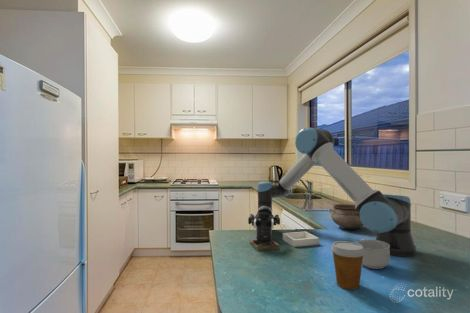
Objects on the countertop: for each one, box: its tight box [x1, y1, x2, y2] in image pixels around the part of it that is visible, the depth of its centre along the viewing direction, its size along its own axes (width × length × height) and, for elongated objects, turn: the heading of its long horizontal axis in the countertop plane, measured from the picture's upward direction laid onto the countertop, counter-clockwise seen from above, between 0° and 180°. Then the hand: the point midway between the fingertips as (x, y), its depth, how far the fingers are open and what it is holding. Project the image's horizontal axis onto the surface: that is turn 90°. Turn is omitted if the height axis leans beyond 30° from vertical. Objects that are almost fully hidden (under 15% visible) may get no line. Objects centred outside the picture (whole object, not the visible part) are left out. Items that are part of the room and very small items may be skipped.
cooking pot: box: [327, 202, 365, 231], centre depth 152 cm, size 25×19×12 cm
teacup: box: [355, 238, 391, 270], centre depth 101 cm, size 14×11×8 cm
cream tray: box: [282, 230, 320, 248], centre depth 128 cm, size 12×12×3 cm
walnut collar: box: [249, 239, 281, 252], centre depth 122 cm, size 10×10×2 cm
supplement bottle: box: [255, 211, 273, 242], centre depth 123 cm, size 7×7×12 cm
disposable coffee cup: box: [330, 240, 365, 290], centre depth 85 cm, size 10×10×12 cm
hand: (263, 225), depth 118 cm, fingers closed on supplement bottle, 7 cm apart
